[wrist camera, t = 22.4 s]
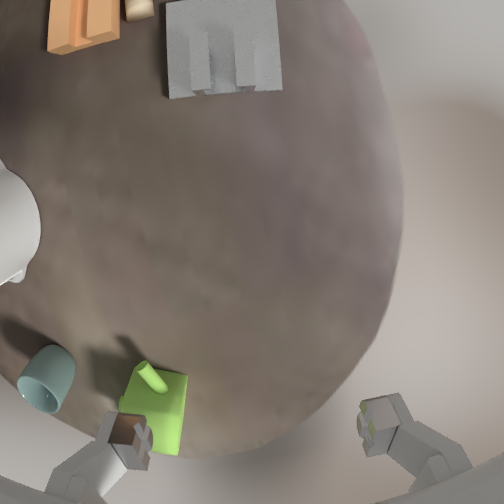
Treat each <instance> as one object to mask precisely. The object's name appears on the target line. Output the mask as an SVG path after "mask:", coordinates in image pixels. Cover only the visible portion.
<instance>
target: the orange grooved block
mask: <svg viewBox="0 0 504 504" xmlns="http://www.w3.org/2000/svg"><path fill="white" fill-rule="evenodd" d="M119 18H120V0H51V4H50V15H49V27H48V46H47V51H48V52H51V53H54V54H59V55H64V54H67V53H70V52H73V51H76V50H80V49H83V48H86V47H89V46H93V45H96V44H100V43H104V42H107V41H111V40H115V39H119Z"/></svg>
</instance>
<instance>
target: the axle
mask: <svg viewBox="0 0 504 504" xmlns="http://www.w3.org/2000/svg"><path fill="white" fill-rule="evenodd" d="M125 8H126V17H127V21H128V22H130V23H131V22H134V21H137V20H140V19H143V18H147V17H150V16H154V9H153V1H152V0H125Z"/></svg>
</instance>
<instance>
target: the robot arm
mask: <svg viewBox="0 0 504 504" xmlns="http://www.w3.org/2000/svg"><path fill="white" fill-rule="evenodd" d="M40 232H41V225H40V216H39V211H38V208H37V204H36V202H35V199H34V197H33V195H32V193H31V191H30V189H29V188H28V186H27V185H26V184H25V182H24V181H23V180H22V179H21V178H20V177H18V176H17V175H16V174H14V173H12V172H11V171H9V170H8V169H7V168H6V167H5V165H4V164H3V162H2V161H1V159H0V285H2V284H3V283H5V282H6V281H11V282H15V283H19V282H20V281H22V280H23V279H24V277H25V273H26V268H27V265H28V263H29V262H30V260H31V259H32V258H33V256H34V255H35V253H36V251H37V248H38V245H39V241H40ZM360 409H361V412H360V413H359V414H358V416H357V429H358V433H359V436H360V437H362V438H363V439H364V441H363V448H364V451H365V454H366V457H372V456H376V455H381V454H385V453H387V455H389V456H390V457H391V458H392V459H394V460H395V461H396V462H397V463H399V464H400V465H401V466H402V467H403V468H405V469H406V470H407V471H408V472H410V473H411V474H412V475H414V476H415V477H416V480H415V481H414V483H413V484H412V486H411V487H410V489H409V493H407V494H404V495H401V496H398V497H395V498H391V499H388V500H384V501H380V502H376V503H372V504H504V452H503V453H501V454H500V455H498V456H496V457H494V458H492V459H490V460H488V461H486V462H484V463H482V464H480V465H478V466H476V467H474V468H473V466H472V464H471V462H470V461H469V459H468V457H467V455H466V453H465V451H464V449H463V447H462V446H461V445H460V444H458V443H456V442H454V441H453V440H451V439H449V438H447V437H445V436H444V435H442V434H440V433H438V432H436V431H435V430H433V429H431V428H429V427H428V426H426V425H424V424H422V423H421V422H419V421H415V422H414V420H413V418H412V416H411V414H410V412H409V410H408V408H407V406H406V404H405V402H404V400H403V398H402V397H401V395H400V394H399V393H395V394H390V395H386V396H381V397H376V398H371V399H366V400H362V401H361V403H360ZM146 423H147V419H146V417H145V415H141V414H130V413H121V412H111V411H108V412H107V413H106V414H105V417H104V419H103V422H102V424H101V427H100V429H99V432H98V435H97V437H96V440H95V441H91V442H90V443H89V444H87V445H86V446H84V447H83V448H82V449H81V450H79V451H78V452H76V453H75V454H74V455H73V456H71V457H70V458H68V459H67V460H66V461H64V462H63V463H61V464H60V465H59V466H57V467H56V468H54V469H53V472H52V474H51V477H50V479H49V482H48V484H47V487H46V489H45V492H42V491H39V490H36V489H33V488H30V487H28V486H25V485H22V484H20V483H17V482H15V481H12V480H10V479H7V478H5V477H3V476H1V475H0V504H108V503H107V502H106V501H105V500H104V499H103V498H102V496H103V495H104V494H105V493H106V492H107V491H108V490H109V489H110V488H111V487H112V486H113V485H114V484H115V483H116V482H117V481H118V480H119V479H120V477H121V476H122V475H123V474H124V473H125V472H126V471H127V469H132V470H144V471H147V470H148V465H149V460H150V457H149V455H148V452H149V451H150V450H151V449H152V447H153V433H152V430H151V428H150V427H149V426H148V425H146Z"/></svg>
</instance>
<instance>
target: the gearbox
mask: <svg viewBox="0 0 504 504" xmlns="http://www.w3.org/2000/svg"><path fill="white" fill-rule="evenodd" d="M187 378H188V375H184V374H180V373H175V372H169V371H163V370H158V369H153V368H152V366H151V365H150V364H149V363H148V361H146V360H145V361H142V362H141V363H139V364H138V366H135V367H134V370H133V372H132V375H131V378H130V380H129V383H128V386H127V389H126V392H125V394H124V396H123V395H122V396H121V397H120V400H119V411H122V413H130V414H141V415H145V417H146V419H147V423H146V425H148V426H149V427H150V428H151V430H152V433H153V447H152V449H151V450H150V451H154V452H159V453H164V454H170V455H178V451H179V444H180V437H181V430H182V423H183V415H184V405H185V396H186V387H187Z"/></svg>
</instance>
